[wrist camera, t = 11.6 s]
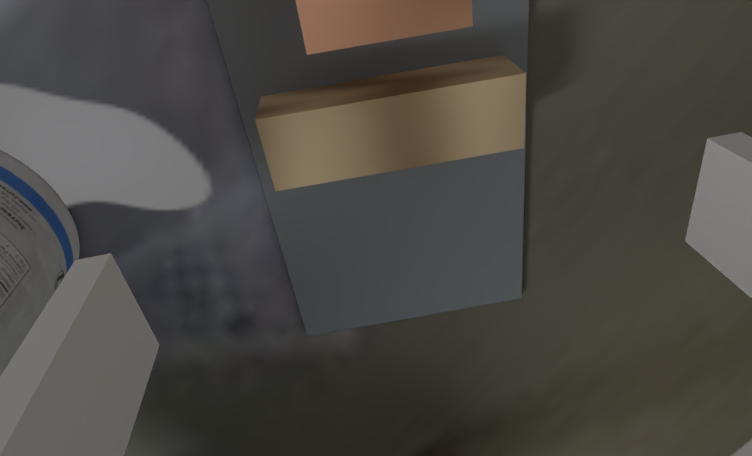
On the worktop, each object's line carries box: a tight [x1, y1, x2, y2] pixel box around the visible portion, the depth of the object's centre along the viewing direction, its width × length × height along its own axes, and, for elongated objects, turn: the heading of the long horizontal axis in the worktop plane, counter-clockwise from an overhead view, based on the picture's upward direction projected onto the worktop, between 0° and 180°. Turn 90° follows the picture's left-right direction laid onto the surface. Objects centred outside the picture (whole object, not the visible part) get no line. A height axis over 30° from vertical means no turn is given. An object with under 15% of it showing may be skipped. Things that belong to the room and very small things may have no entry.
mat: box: [206, 0, 529, 337], centre depth 21 cm, size 12×26×1 cm, turn 8°
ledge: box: [255, 55, 526, 191], centre depth 21 cm, size 10×3×3 cm, turn 98°
